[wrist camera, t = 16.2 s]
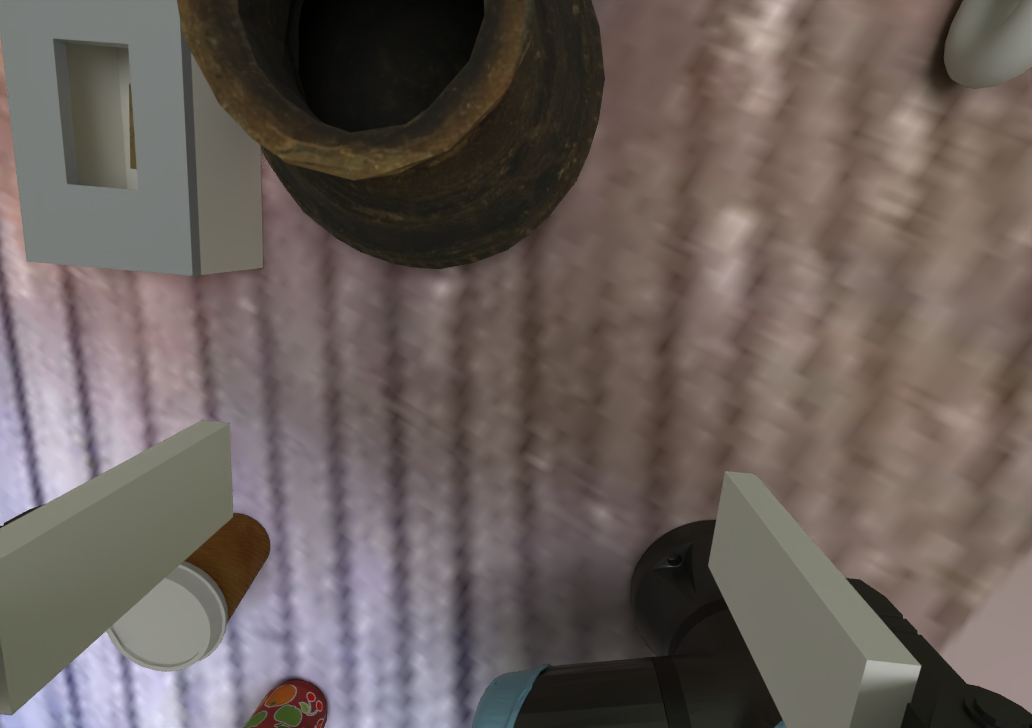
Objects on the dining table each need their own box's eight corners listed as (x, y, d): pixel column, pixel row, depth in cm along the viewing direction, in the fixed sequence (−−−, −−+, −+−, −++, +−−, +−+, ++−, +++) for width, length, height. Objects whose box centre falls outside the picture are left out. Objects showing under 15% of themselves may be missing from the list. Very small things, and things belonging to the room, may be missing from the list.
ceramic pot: (540, -112, 41) (533, -498, 20) (624, 210, 46) (692, 189, 24) (249, 2, 44) (-42, -225, 22) (356, 295, 49) (202, 343, 27)
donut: (954, 109, 43) (1073, 72, 34) (912, 96, 43) (1018, 56, 33) (1015, -34, 41) (1162, -118, 31) (970, -47, 41) (1102, -135, 31)
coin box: (263, 267, 49) (192, 276, 39) (129, 256, 49) (26, 261, 40) (257, 12, 44) (176, -50, 35) (110, 1, 45) (-11, -63, 35)
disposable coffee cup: (191, 491, 54) (93, 562, 43) (287, 504, 54) (216, 579, 42) (192, 578, 56) (100, 667, 45) (285, 591, 56) (216, 684, 44)
